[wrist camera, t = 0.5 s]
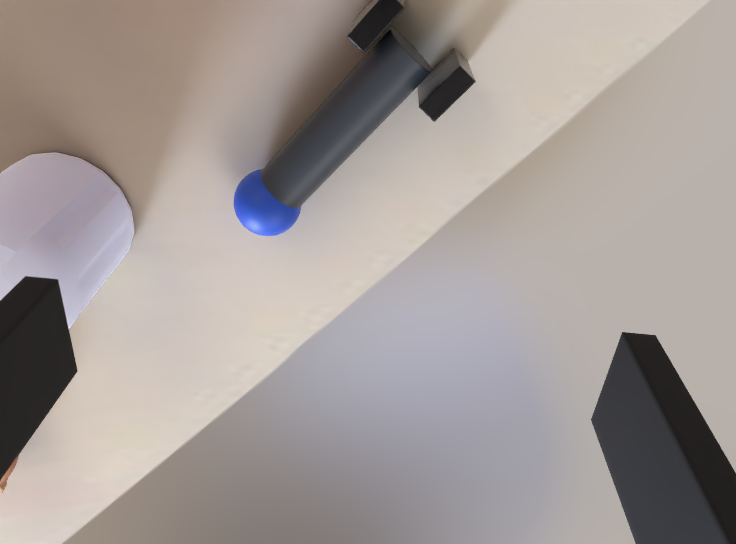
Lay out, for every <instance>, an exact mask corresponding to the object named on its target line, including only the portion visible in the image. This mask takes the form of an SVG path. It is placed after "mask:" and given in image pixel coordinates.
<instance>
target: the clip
mask: <svg viewBox="0 0 736 544" xmlns="http://www.w3.org/2000/svg"><path fill="white" fill-rule="evenodd" d="M403 10H404V0H371V1H370V3H369V4H368V5H367V6H366V7H365V8H364V9H363V11H362V12H361V13H360V14H359V15H358V16H357V17H356V19H355V20H354V21H353V24H352V26H351V29H350V31H349V34H348V36H347V37H348V38H349V39H350V40H351V41H352V42H353V43H354V44H355V45H356V46H357V47H358V48H359V49H360V50H361V51H362V52H366V51H367V49H368V48H369V47H370V46H371V45H372V44H373V43H374V42H375V41H376V39H377V38H378V37H379V36H380V35H381V34H382V33H383V32H384V31H385V30H386V28H387V27H388V26H389V25H390V24H391V23H392V22H393V21H394V20H395V18H396V17H397V16H398V15H399V14H400V13H401V12H402V11H403ZM474 83H475V79H474V77H473V74H472V71H471V69H470V66H469V63H468V61H467V60H466V59H465V58H464V57H463V56H462V55H461V54H460V53H459V52H458V51H457V50H456V49H455V48H454V49H453V50H452V51H451V52H450V53H449V54H448V55H447V56H446V57H445V58H444V59H443V60H442V61H441V62H440V63H439V64H438V65H437V66H436V67H435V68H434V69H433V70H432V72H431V73H430V74H429V75H428V76H427V77H426V78H425V79H424V80H423V81H422V82H421V83H420V84H419V85H418V99H419V108H420V109H421V110H422V111H423V112H424V113H425V114H426V115H427V116H429V117H430V118H431V119H432V120H433V121H436V120H437V119H438V118H439V117H440V116H441V115H442V114H443V113H444V112H445V111H446V110H447V109H448V108H449V107H450V106H451V105H452V104H453V103H454V102H455V101H456V100H457V99H458V98H459V97H460V96H461V95H462V94H463V93H465V92H466V91H467V90H468V89H469V88H470V87H471V86H472V85H473V84H474Z"/></svg>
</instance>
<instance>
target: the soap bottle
mask: <svg viewBox="0 0 736 544" xmlns="http://www.w3.org/2000/svg"><path fill="white" fill-rule="evenodd" d="M134 232H135V231H134V223H133V217H132V210H131V207H130V206H129V204H128V202H127V200H126V198H125V196H124V194H123V192H122V190H121V189H120V188H119V187H118V186H117V185H116V184H115V183H114V182H113V181H112V180H111V179H110V178H109V177H108V176H107V174H106V173H105V172H104V171H102V170H100V169H99V168H97V167H95V166H93V165H92V164H90V163H88V162H86V161H85V160H83V159H81V158H78V157H73V156H69V155H65V154H61V153H57V152H52V153H40V154H31V155H29V156H27V157H25V158H23V159H22V160H20V161H18V162H16V163H14V164H12V165H11V166H9V167H8V168H7V169H5V170H4V171H2V172H1V173H0V300H1V299H2V298H3V297H4V296H6V295H7V294H8V293H9V292H10V291H11V290H12V289H13V288H14V287H15V286H16V285H17V284H18V283H19V282H20V281H21V280H22V279H23V278H24V277H25V276H29V277H40V278H51V279H58V281H59V286H60V290H61V295H62V300H63V305H64V310H65V314H66V319H67V324H68V329H69V328H70V327H71V325H72V324H73V323H74V321H75V320H76V319H77V317H78V316H79V315H80V314H81V312H82V311H83V310H84V308H85V307H86V306H87V304H88V303H89V302H90V301H91V299H92V298H93V297H94V295H95V294H96V293H97V291H98V290H99V289H100V288H101V286H102V285H103V284H104V282H105V281H106V280H107V279H108V277H109V276H110V275H111V273H112V272H113V271H114V269H115V268H116V267H117V266H118V264H119V263H120V262H121V260H122V259H123V258H124V256H125V255H126V254H127V253H128V251H129V250H130V246H131V243H132V239H133V236H134Z"/></svg>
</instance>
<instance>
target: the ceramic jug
mask: <svg viewBox="0 0 736 544" xmlns="http://www.w3.org/2000/svg"><path fill="white" fill-rule="evenodd" d="M18 456H19V455H18ZM18 456H17V458H16V459H15V460H14V462H13V463H12V465H11V466H10V468H9V469H8V470H7V472H6V473H5V475H4V476H3V478H2V479H1V480H0V493H2V492H3V491H4V489H5V487H6V484H7V479H8V477H9V476H10V474H11V473H12V471H13V469H14V468H15V465H16V463H17V460H18Z"/></svg>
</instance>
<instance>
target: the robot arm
mask: <svg viewBox="0 0 736 544" xmlns="http://www.w3.org/2000/svg"><path fill="white" fill-rule="evenodd" d="M76 372H77V367H76V362H75V357H74V352H73V348H72V343H71V338H70V333H69V329H68V324H67V319H66V314H65V310H64V305H63V300H62V295H61V290H60V286H59V281H58V279H51V278H40V277H29V276H25V277H24V278H23V279H22V280H21V281H20V282H19V283H18V284H17V285H16V286H15V287H14V288H13V289H12V290H11V291H10V292H9V293H8V294H7V295H6V296H4V297H3V298H2V299H1V300H0V480H1V479H2V478H3V476H4V475H5V473H6V472H7V470H8V469H9V468H10V466H11V465H12V463H13V462H14V460H15V459H16V458H17V456H18V455H19V453H20V452H21V451H22V449H23V448H24V446H25V445H26V443H27V442H28V441H29V439H30V438H31V436H32V435H33V434H34V432H35V431H36V429H37V428H38V426H39V425H40V424H41V422H42V421H43V419H44V418H45V416H46V415H47V414H48V412H49V411H50V409H51V408H52V407H53V405H54V404H55V402H56V401H57V399H58V398H59V397H60V395H61V394H62V392H63V391H64V390H65V388H66V387H67V385H68V384H69V382H70V381H71V380H72V378H73V377H74V375H75V374H76ZM591 421H592V424H593V426H594V429H595V432H596V435H597V437H598V440H599V443H600V446H601V448H602V451H603V454H604V457H605V460H606V462H607V465H608V468H609V471H610V473H611V476H612V479H613V482H614V485H615V487H616V490H617V493H618V495H619V498H620V501H621V504H622V507H623V509H624V512H625V515H626V518H627V520H628V523H629V526H630V529H631V531H632V534H633V537H634V540H635V543H636V544H736V473H735V471H734V469H733V468H732V466H731V464H730V463H729V461H728V459H727V457H726V456H725V454H724V452H723V451H722V449H721V447H720V445H719V444H718V442H717V440H716V439H715V437H714V435H713V433H712V432H711V430H710V428H709V427H708V425H707V423H706V422H705V420H704V418H703V416H702V414H701V413H700V411H699V409H698V408H697V406H696V404H695V402H694V401H693V399H692V397H691V396H690V394H689V392H688V390H687V389H686V387H685V386H684V384H683V382H682V380H681V379H680V377H679V375H678V373H677V372H676V370H675V368H674V367H673V365H672V363H671V361H670V360H669V358H668V356H667V354H666V353H665V351H664V349H663V348H662V346H661V344H660V342H659V341H658V339H657V337H656V336H655V335H646V334H636V333H625V332H622V335H621V337H620V340H619V343H618V346H617V349H616V352H615V354H614V357H613V360H612V363H611V365H610V368H609V371H608V374H607V377H606V380H605V382H604V385H603V388H602V391H601V393H600V397H599V399H598V402H597V405H596V408H595V410H594V413H593V416H592V419H591Z"/></svg>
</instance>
